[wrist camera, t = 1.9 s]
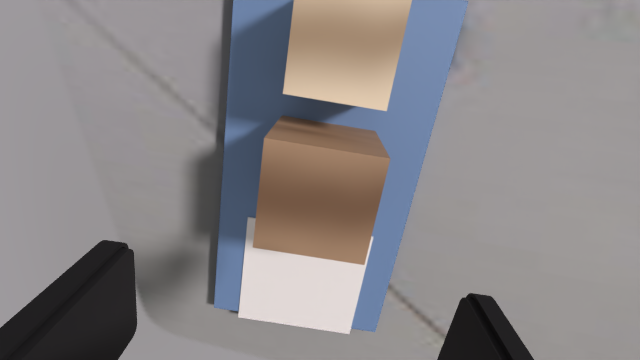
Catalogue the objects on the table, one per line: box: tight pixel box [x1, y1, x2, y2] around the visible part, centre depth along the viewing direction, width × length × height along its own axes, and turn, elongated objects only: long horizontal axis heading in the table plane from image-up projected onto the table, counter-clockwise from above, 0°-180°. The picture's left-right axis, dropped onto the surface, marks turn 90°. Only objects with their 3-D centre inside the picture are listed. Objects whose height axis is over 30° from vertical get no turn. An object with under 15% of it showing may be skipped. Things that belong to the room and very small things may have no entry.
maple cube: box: [283, 0, 412, 111], centre depth 18 cm, size 5×5×5 cm
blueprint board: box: [214, 0, 468, 334], centre depth 24 cm, size 24×13×1 cm, turn 171°
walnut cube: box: [253, 115, 390, 265], centre depth 20 cm, size 6×6×6 cm
